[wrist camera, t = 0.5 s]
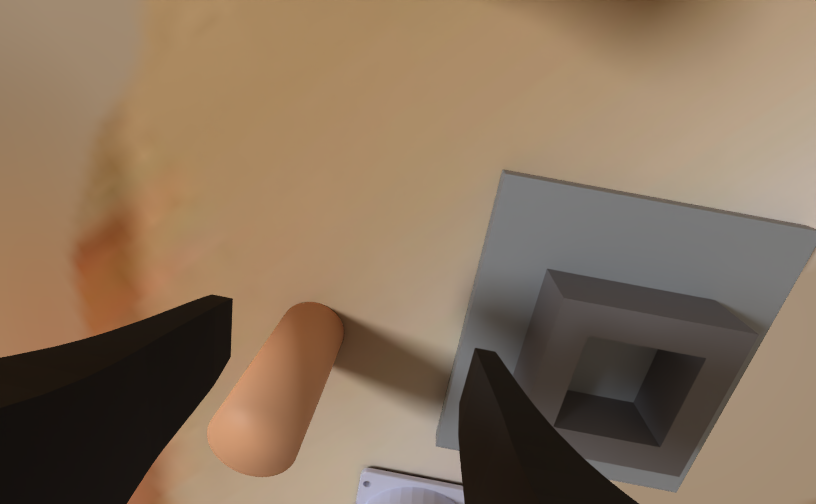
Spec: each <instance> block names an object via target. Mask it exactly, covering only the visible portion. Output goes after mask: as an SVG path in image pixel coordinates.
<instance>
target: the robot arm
mask: <svg viewBox="0 0 816 504" xmlns="http://www.w3.org/2000/svg"><path fill="white" fill-rule="evenodd" d="M232 300H233V299H232V298H227V297H222V296H217V295H209V296H206V297H202V298H200V299H197V300H194V301H191V302H189V303H186V304H184V305H181V306H178V307H176V308H173V309H171V310H168V311H165V312H163V313H160V314H157V315H155V316H152V317H150V318H147V319H144V320H141V321H138V322H135V323H133V324H130V325H127V326H124V327H121V328H118V329H115V330H112V331H109V332H106V333H103V334H100V335H96V336H93V337H89V338H86V339H82V340H79V341H75V342H71V343H67V344H63V345H59V346H55V347H51V348H46V349H41V350H37V351H32V352H27V353H22V354H17V355H13V356H7V357H2V358H0V504H127V502H128V501H129V499H130V498H131V496H132V495H133V493H134V491H135V490H136V488H137V487H138V485H139V484H140V482H141V481H142V479H143V478H144V476H145V474H146V473H147V471H148V470H149V468H150V467H151V465H152V464H153V463H154V461H155V460H156V458H157V457H158V456H159V454H160V453H161V452H162V450H163V449H164V448H165V446H166V445H167V444H168V443H169V441H170V440H171V439H172V438H173V436H174V435H175V434H176V433H177V431H178V430H179V429H180V428H181V426H182V425H183V424H184V423H185V421H186V420H187V419H188V418H189V416H190V415H191V414H192V413H193V411H194V410H195V409H196V408H197V406H198V405H199V404H200V402H201V401H202V400H203V399H204V397H205V396H206V395H207V394H208V392H209V391H210V390H211V388H212V387H213V386H214V384H215V382H216V381H217V379H218V378H219V376H220V374H221V373H222V371H223V369H224V367H225V366H226V364H227V362H228V360H229V359H230V357H231V329H232ZM458 440H459V451H460V462H461V472H462V483H463V486H461V485H456V484H451V483H446V482H441V481H435V480H430V479H425V478H420V477H415V476H410V475H404V474H399V473H394V472H389V471H384V470H379V469H373V468H365V469H363V470H362V472H361V476H360V482H359V487H358V493H357V499H356V504H639V503H637V502H636V501H634V500H633V499H632V498H630V497H629V496H628V495H627V494H625V493H624V492H623V491H622V490H620V489H619V488H618V487H617V486H615V485H614V484H613V483H612V482H610V481H609V480H608V479H607V478H606V477H605V476H603V475H602V474H601V473H600V472H599V471H598V470H596V469H595V468H594V467H593V466H592V465H591V464H590V463H588V462H587V461H586V460H585V459H584V458H583V457H582V456H581V455H580V454H579V453H578V452H577V451H576V450H575V449H574V448H573V447H572V446H571V445H570V444H569V443H568V442H567V441H566V440H565V439H564V438H563V437H562V436H561V435H560V434H559V433H558V432H557V431H556V430H555V429H554V428H553V426H552V425H551V424H550V423H549V422H548V421H547V420H546V418H545V417H544V416H543V415H542V414H541V412H540V411H539V410H538V409H537V408H536V406H535V405H534V404H533V403H532V401H531V400H530V399H529V398H528V396H527V395H526V394H525V392H524V391H523V390H522V388H521V387H520V385H519V384H518V383H517V381H516V380H515V379H514V377H513V376H512V374H511V373H510V371H509V370H508V369H507V367H506V366H505V364H504V363H503V361H502V360H501V358H500V357H499V356H498V354H497V353H496V352H495V351H490V350H485V349H480V348H475V349H474V353H473V356H472V360H471V363H470V367H469V370H468V374H467V377H466V381H465V384H464V388H463V391H462V395H461V399H460V402H459V420H458ZM367 481H369V482H367Z"/></svg>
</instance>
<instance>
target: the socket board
mask: <svg viewBox="0 0 816 504" xmlns="http://www.w3.org/2000/svg"><path fill="white" fill-rule="evenodd" d="M815 247H816V229H814V228H811V227H808V226H806V225H801V224H795V223H790V222H784V221H779V220H774V219H768V218H763V217H757V216H752V215H746V214H741V213H736V212H730V211H725V210H719V209H714V208H709V207H703V206H698V205H692V204H687V203H681V202H676V201H671V200H665V199H660V198H654V197H649V196H643V195H638V194H633V193H627V192H622V191H616V190H611V189H606V188H600V187H595V186H589V185H584V184H578V183H573V182H568V181H562V180H557V179H551V178H546V177H540V176H535V175H530V174H524V173H519V172H513V171H508V170H502V174H501V178H500V182H499V186H498V190H497V194H496V198H495V202H494V206H493V210H492V214H491V218H490V222H489V226H488V230H487V234H486V238H485V241H484V245H483V249H482V253H481V257H480V261H479V265H478V269H477V273H476V277H475V281H474V285H473V289H472V293H471V297H470V301H469V305H468V309H467V313H466V317H465V321H464V325H463V329H462V333H461V337H460V340H459V344H458V348H457V352H456V356H455V360H454V364H453V368H452V372H451V376H450V380H449V384H448V388H447V392H446V396H445V400H444V404H443V408H442V412H441V416H440V420H439V424H438V428H437V432H436V446H437V447H442V448H448V449H453V450H458V451H459V440H458V420H459V402H460V399H461V395H462V391H463V388H464V384H465V381H466V377H467V374H468V370H469V367H470V363H471V360H472V356H473V353H474V349H475V348H480V349H485V350H490V351H495V352H496V353H497V354H498V356H499V357H500V358H501V360H502V361H503V363H504V364H505V366H506V367H507V369H508V370H509V371H510V373H511V374H512V376H513V377H514V379H515V380H516V381H517V383H518V384H519V385H520V387H521V388H522V390H523V391H524V392H525V394H526V395H527V396H528V398H529V399H530V400H531V401H532V403H533V404H534V405H535V406H536V408H537V409H538V410H539V411H540V412H541V414H542V415H543V416H544V417H545V418H546V420H547V421H548V422H549V423H550V424H551V425H552V426H553V428H554V429H555V430H556V431H557V432H558V433H559V434H560V435H561V436H562V437H563V438H564V439H565V440H566V441H567V442H568V443H569V444H570V445H571V446H572V447H573V448H574V449H575V450H576V451H577V452H578V453H579V454H580V455H581V456H582V457H583V458H584V459H585V460H586V461H587V462H588V463H590V464H591V465H592V466H593V467H594V468H595V469H596V470H598V471H599V472H600V473H601V474H602V475H603V476H605V477H606V478H607V479H608V480H614V481H619V482H624V483H630V484H634V485H640V486H645V487H651V488H655V489H661V490H666V491H671V492H677V490H678V489H679V487H680V485H681V483H682V481H683V480H684V478H685V476H686V475H687V473H688V471H689V469H690V467H691V465H692V464H693V462H694V460H695V459H696V457H697V455H698V453H699V452H700V450H701V448H702V446H703V445H704V443H705V441H706V439H707V437H708V436H709V434H710V432H711V430H712V429H713V427H714V425H715V423H716V421H717V420H718V418H719V416H720V415H721V413H722V411H723V409H724V407H725V406H726V404H727V402H728V400H729V398H730V397H731V395H732V393H733V392H734V390H735V388H736V386H737V385H738V383H739V381H740V379H741V377H742V376H743V374H744V372H745V370H746V369H747V367H748V365H749V363H750V362H751V360H752V358H753V356H754V355H755V353H756V351H757V349H758V347H759V346H760V344H761V342H762V340H763V339H764V337H765V335H766V333H767V332H768V330H769V328H770V326H771V325H772V323H773V321H774V319H775V317H776V316H777V314H778V312H779V310H780V308H781V307H782V305H783V303H784V302H785V300H786V298H787V296H788V295H789V293H790V291H791V289H792V288H793V286H794V284H795V282H796V280H797V279H798V277H799V275H800V273H801V272H802V270H803V268H804V266H805V265H806V263H807V261H808V259H809V258H810V256H811V254H812V252H813V250H814V249H815Z"/></svg>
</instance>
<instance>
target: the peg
mask: <svg viewBox="0 0 816 504" xmlns="http://www.w3.org/2000/svg"><path fill="white" fill-rule="evenodd" d="M343 338H344V328H343V324H342V322H341V320H340V318H339V317H338V316H337V314H336V313H335V312H334V311H332V310H331V309H330V308H328V307H326V306H324V305H322V304H319V303H314V302H304V303H299V304H297V305H295V306H293V307H291V308H290V309H289V310H288V311H287V312H286V314H285V315H284V317H283V318H282V319H281V321H280V322H279V324H278V325H277V327H276V328H275V329H274V331H273V332H272V334H271V335H270V337H269V338H268V339H267V341H266V342H265V344H264V345H263V347H262V348H261V349H260V351H259V352H258V354H257V355H256V357H255V358H254V359H253V361H252V362H251V364H250V365H249V367H248V368H247V369H246V371H245V372H244V374H243V375H242V377H241V378H240V379H239V381H238V382H237V384H236V385H235V387H234V388H233V389H232V391H231V392H230V394H229V395H228V397H227V398H226V400H225V401H224V402H223V404H222V405H221V407H220V408H219V410H218V411H217V412H216V414H215V415H214V417H213V418H212V420H211V421H210V423H209V425H208V429H207V437H208V442H209V445H210V447H211V449H212V451H213V452H214V454H215V455H216V456H217V457H218V458H219V460H220V461H222V462H223V463H224V464H225V465H227V466H228V467H230V468H231V469H233V470H235V471H237V472H240V473H242V474H245V475H250V476H255V477H269V476H274V475H277V474H280V473H282V472H284V471H286V470H287V469H288V468H289V467H290V466H291V465H292V464H293V463H294V461H295V459H296V457H297V454H298V452H299V449H300V447H301V444H302V442H303V439H304V437H305V434H306V432H307V429H308V427H309V424H310V422H311V419H312V417H313V414H314V412H315V409H316V407H317V404H318V402H319V399H320V397H321V394H322V392H323V389H324V387H325V384H326V382H327V379H328V377H329V374H330V372H331V369H332V367H333V364H334V362H335V359H336V356H337V354H338V351H339V349H340V346H341V344H342V341H343Z"/></svg>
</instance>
